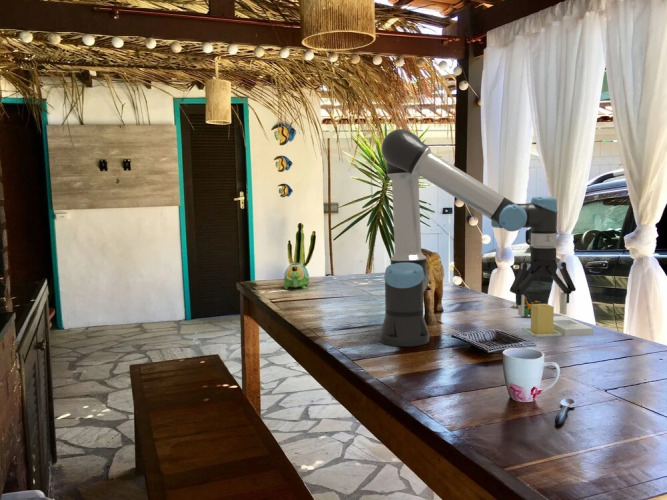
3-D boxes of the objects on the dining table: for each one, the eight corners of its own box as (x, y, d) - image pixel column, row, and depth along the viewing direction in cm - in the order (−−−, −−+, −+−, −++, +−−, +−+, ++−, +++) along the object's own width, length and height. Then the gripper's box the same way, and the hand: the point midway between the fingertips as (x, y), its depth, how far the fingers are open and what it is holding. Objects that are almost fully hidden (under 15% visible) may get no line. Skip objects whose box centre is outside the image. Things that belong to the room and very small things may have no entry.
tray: (534, 339, 177) (534, 335, 177) (521, 332, 186) (522, 328, 186) (562, 338, 178) (562, 333, 177) (548, 331, 186) (549, 327, 186)
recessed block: (564, 339, 177) (565, 329, 177) (538, 325, 195) (538, 316, 195) (593, 337, 178) (593, 328, 178) (564, 324, 196) (564, 315, 195)
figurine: (544, 320, 203) (544, 297, 202) (511, 321, 202) (511, 298, 201) (540, 318, 206) (540, 295, 205) (507, 319, 205) (508, 296, 204)
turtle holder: (280, 292, 269) (280, 266, 268) (285, 286, 287) (285, 262, 286) (307, 292, 269) (306, 266, 268) (310, 285, 287) (310, 261, 286)
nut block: (537, 336, 179) (538, 307, 178) (530, 332, 184) (531, 304, 183) (553, 335, 179) (553, 306, 178) (545, 331, 184) (546, 303, 183)
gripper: (509, 249, 174) (508, 318, 176) (588, 246, 176) (586, 315, 178) (499, 246, 181) (498, 313, 184) (576, 244, 184) (574, 310, 186)
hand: (542, 314), depth 181 cm, fingers open, 13 cm apart
